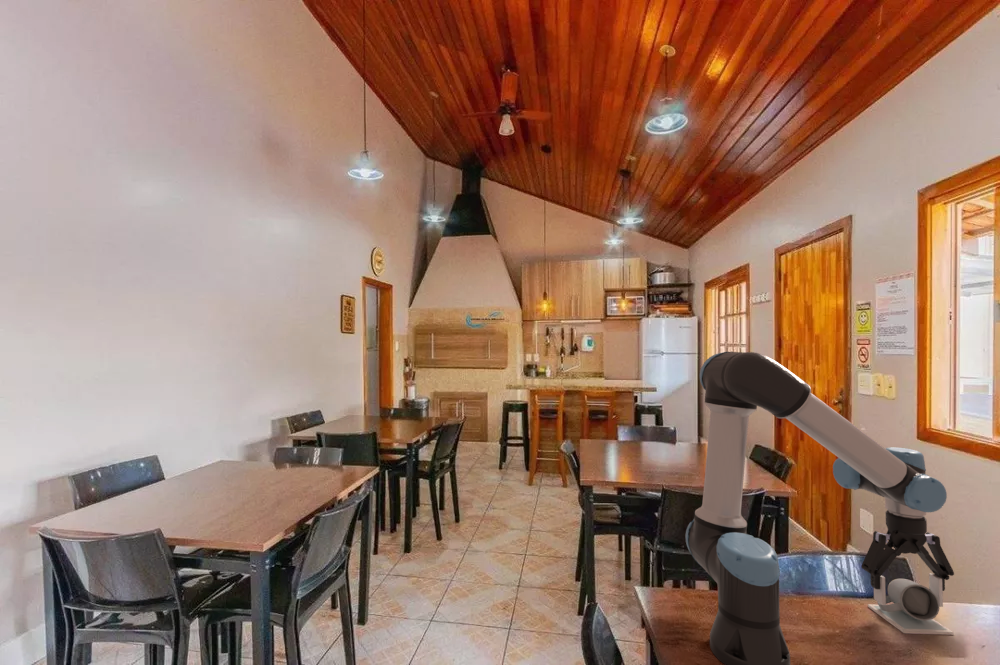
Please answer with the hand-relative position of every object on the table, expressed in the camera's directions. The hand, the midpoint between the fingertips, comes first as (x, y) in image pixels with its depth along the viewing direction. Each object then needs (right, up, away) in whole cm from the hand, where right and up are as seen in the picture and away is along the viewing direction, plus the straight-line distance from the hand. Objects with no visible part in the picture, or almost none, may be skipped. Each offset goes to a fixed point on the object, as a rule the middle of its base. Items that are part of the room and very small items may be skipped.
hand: (907, 603), depth 112 cm
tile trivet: (0, -4, 0) cm, 4 cm away
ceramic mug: (0, -3, 0) cm, 3 cm away
